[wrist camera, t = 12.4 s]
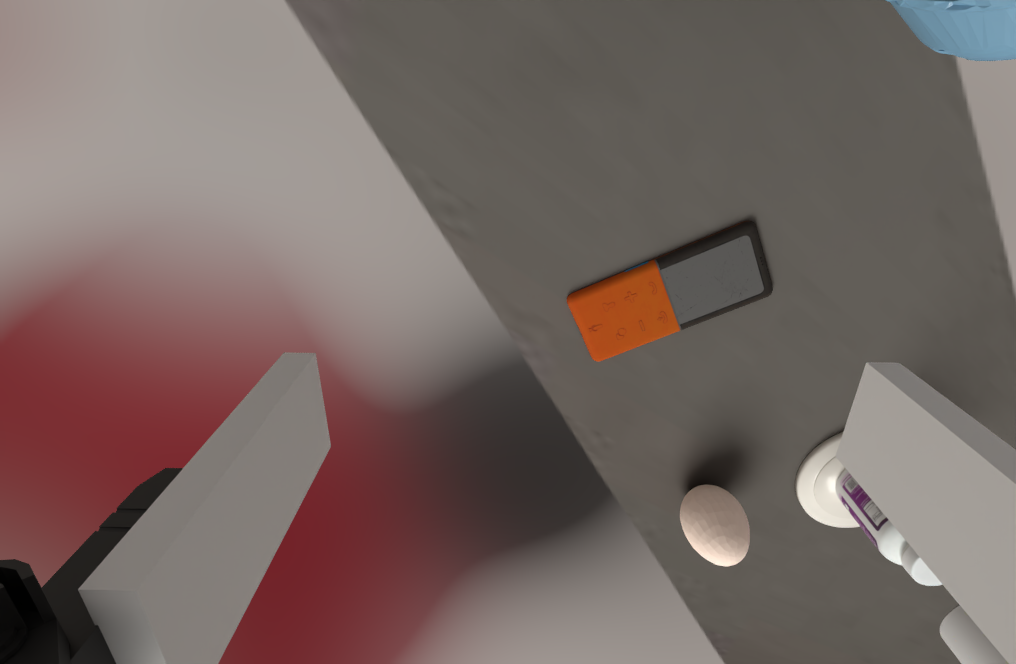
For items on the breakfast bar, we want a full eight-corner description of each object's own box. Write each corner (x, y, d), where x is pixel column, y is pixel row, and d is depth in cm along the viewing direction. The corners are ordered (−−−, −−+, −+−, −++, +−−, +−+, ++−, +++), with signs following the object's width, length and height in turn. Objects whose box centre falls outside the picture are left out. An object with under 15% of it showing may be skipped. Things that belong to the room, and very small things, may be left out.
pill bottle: (891, 499, 49) (972, 589, 40) (831, 507, 50) (898, 597, 41) (898, 452, 47) (985, 536, 38) (835, 460, 47) (906, 546, 39)
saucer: (812, 424, 47) (818, 431, 46) (938, 428, 47) (946, 435, 46) (782, 519, 52) (786, 527, 51) (896, 523, 52) (903, 531, 51)
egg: (727, 464, 49) (763, 529, 42) (732, 509, 51) (767, 578, 44) (667, 475, 50) (693, 541, 43) (675, 519, 52) (700, 589, 45)
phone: (564, 299, 42) (756, 219, 39) (563, 293, 43) (749, 215, 40) (594, 366, 44) (777, 296, 41) (592, 358, 45) (769, 290, 43)
